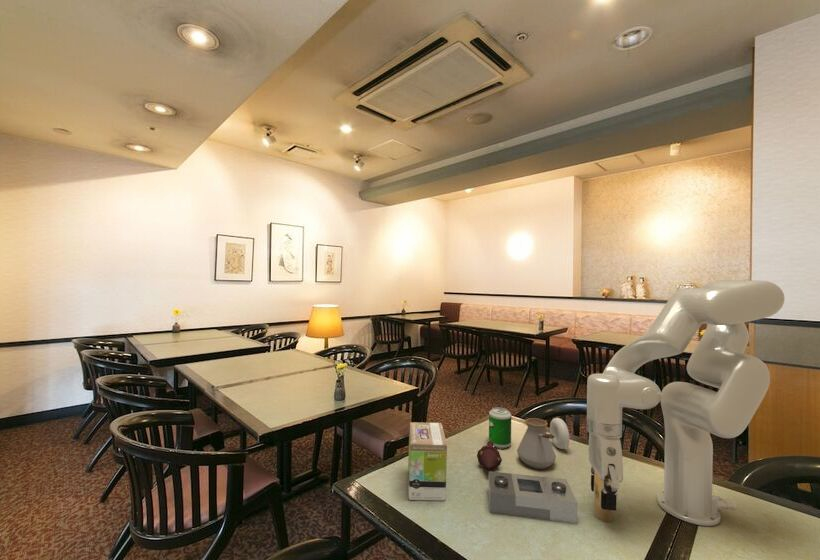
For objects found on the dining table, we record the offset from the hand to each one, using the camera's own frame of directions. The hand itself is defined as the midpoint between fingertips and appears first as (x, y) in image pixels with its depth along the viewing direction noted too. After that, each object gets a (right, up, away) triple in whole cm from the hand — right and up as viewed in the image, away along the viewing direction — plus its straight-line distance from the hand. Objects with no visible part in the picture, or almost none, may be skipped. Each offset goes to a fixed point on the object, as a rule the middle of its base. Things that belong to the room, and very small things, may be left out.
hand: (603, 499), depth 87 cm
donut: (+4, -4, +36) cm, 36 cm away
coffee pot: (-8, -4, +21) cm, 22 cm away
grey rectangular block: (-17, -4, +4) cm, 18 cm away
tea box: (-42, -4, +13) cm, 45 cm away
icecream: (-23, -4, +22) cm, 32 cm away
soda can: (-16, -4, +37) cm, 41 cm away
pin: (0, -4, 0) cm, 4 cm away
